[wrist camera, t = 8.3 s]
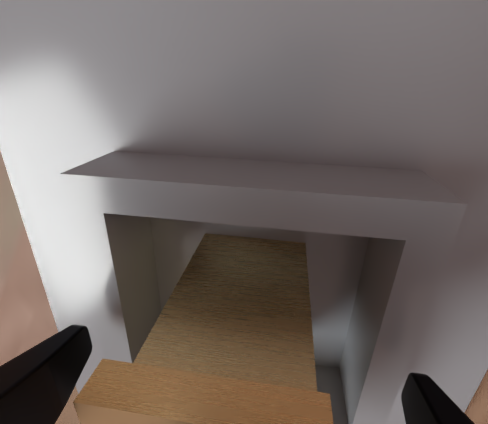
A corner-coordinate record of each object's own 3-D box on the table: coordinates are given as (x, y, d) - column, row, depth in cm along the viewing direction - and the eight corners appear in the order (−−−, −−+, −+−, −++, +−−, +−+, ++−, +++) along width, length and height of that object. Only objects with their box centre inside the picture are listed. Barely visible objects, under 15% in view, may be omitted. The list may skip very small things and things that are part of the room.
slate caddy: (424, 455, 15) (457, 549, 12) (92, 397, 17) (50, 464, 14) (677, -57, 7) (996, -168, 4) (-35, -41, 9) (-202, -100, 6)
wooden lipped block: (292, 348, 12) (291, 615, 6) (208, 336, 13) (131, 576, 7) (308, 216, 10) (336, 449, 4) (204, 207, 10) (72, 402, 4)
